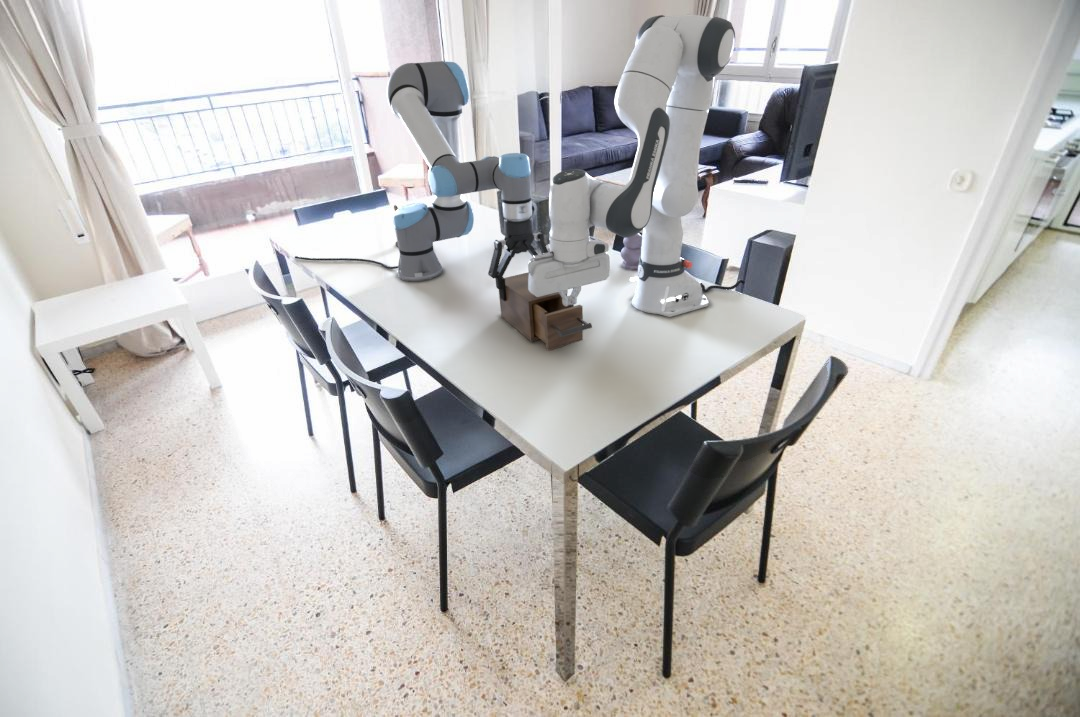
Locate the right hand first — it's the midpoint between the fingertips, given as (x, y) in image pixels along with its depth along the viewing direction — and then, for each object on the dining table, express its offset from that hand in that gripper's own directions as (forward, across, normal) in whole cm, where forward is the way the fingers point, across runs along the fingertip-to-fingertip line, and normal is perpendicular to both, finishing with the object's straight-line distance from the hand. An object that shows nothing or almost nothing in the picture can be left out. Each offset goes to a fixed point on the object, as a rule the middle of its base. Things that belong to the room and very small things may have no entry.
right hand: (569, 304), depth 118 cm
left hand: (+7, 0, +26) cm, 27 cm away
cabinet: (+14, 0, +20) cm, 24 cm away
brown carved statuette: (+14, -10, +111) cm, 113 cm away
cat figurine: (+14, +50, +40) cm, 66 cm away
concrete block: (+14, +30, +82) cm, 89 cm away
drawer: (+12, 0, +8) cm, 15 cm away
